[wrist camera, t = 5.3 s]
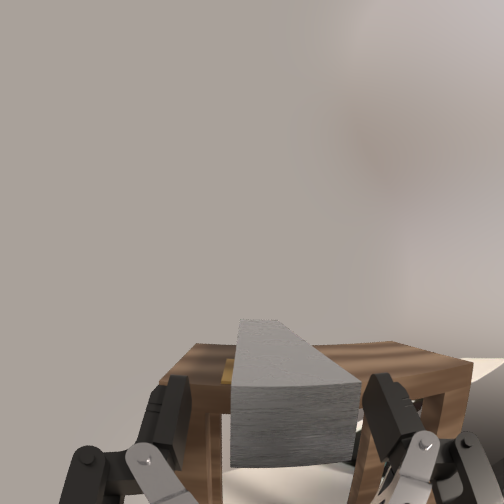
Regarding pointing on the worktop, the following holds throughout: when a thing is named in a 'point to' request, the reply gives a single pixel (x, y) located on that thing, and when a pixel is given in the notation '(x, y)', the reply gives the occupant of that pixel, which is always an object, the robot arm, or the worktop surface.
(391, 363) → the switch shelf
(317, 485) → the worktop surface
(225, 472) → the worktop surface
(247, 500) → the worktop surface
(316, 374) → the gray rectangular block
